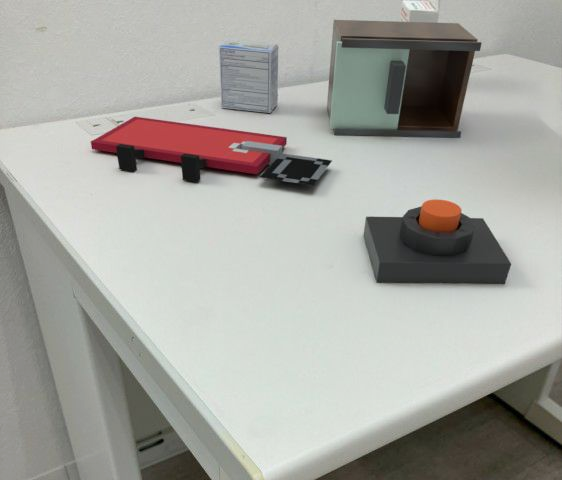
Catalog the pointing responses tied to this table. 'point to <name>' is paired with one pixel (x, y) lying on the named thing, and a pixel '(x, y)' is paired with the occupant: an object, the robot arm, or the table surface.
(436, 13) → the ink cartridge box
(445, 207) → the orange button
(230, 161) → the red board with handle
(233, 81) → the medicine box
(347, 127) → the sliding door
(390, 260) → the button block
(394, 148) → the table surface
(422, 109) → the cabinet
